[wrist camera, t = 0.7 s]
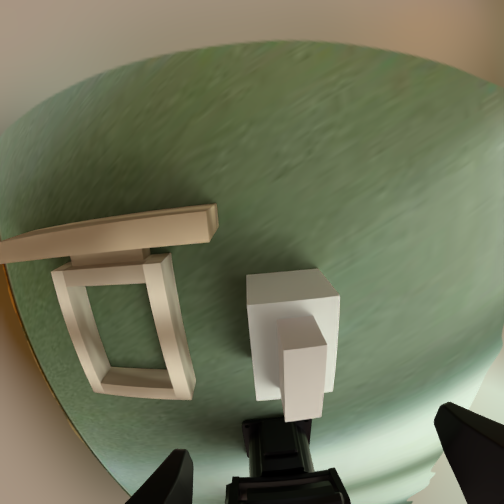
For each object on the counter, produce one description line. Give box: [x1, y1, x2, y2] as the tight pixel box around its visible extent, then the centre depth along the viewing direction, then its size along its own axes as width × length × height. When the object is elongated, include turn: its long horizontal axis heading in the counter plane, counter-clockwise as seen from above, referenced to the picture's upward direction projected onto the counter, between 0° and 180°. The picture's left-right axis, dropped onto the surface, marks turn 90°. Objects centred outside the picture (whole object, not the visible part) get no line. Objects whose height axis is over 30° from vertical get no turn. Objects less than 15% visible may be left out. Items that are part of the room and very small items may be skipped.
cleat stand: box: [0, 203, 219, 400], centre depth 17 cm, size 14×16×5 cm
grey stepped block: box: [246, 268, 340, 422], centre depth 16 cm, size 7×5×8 cm
